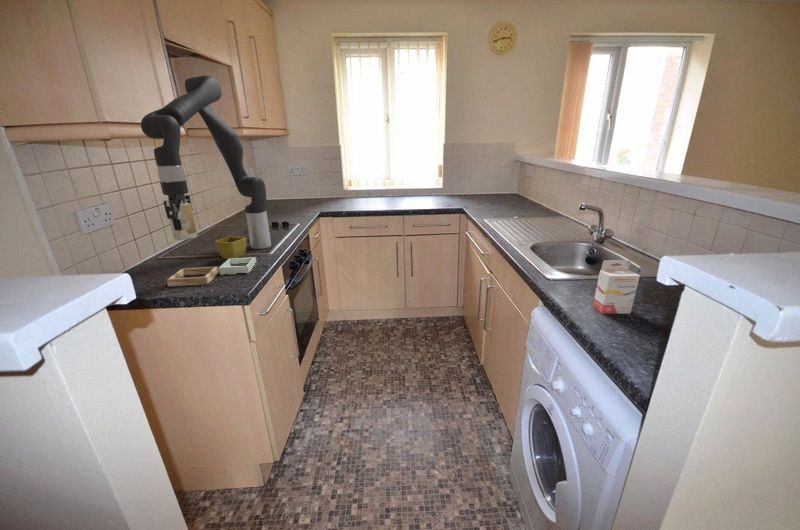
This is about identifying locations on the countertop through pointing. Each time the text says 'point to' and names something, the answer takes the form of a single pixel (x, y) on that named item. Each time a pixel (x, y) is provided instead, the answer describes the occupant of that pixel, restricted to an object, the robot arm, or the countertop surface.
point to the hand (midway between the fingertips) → (183, 227)
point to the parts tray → (229, 269)
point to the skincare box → (185, 224)
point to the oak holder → (180, 281)
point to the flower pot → (231, 247)
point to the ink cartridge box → (615, 288)
